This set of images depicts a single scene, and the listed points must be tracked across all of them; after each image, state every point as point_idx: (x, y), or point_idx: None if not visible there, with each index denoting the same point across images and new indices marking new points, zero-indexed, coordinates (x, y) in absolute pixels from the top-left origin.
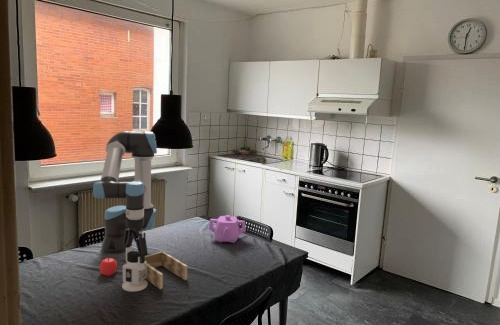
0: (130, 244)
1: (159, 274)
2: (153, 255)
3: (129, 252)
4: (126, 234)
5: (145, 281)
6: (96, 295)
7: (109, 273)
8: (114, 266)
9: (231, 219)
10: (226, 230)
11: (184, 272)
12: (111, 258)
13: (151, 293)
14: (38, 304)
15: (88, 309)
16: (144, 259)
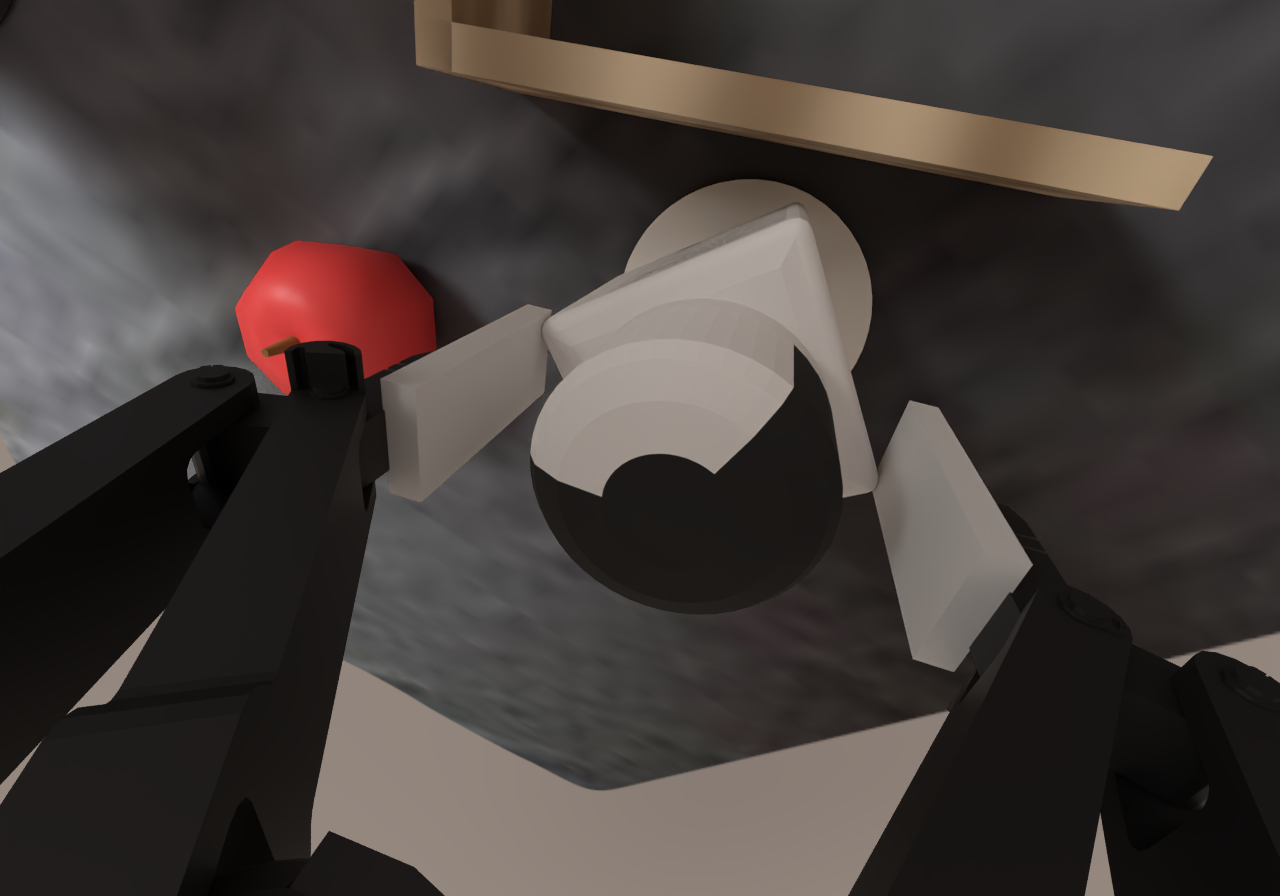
0: (356, 439)
1: (1139, 202)
2: None
3: (593, 562)
4: (12, 744)
5: (786, 203)
6: None
7: (429, 351)
8: (393, 320)
9: None
10: None
11: None
12: (261, 293)
13: (1007, 326)
14: (503, 716)
15: (732, 676)
16: (1047, 559)
